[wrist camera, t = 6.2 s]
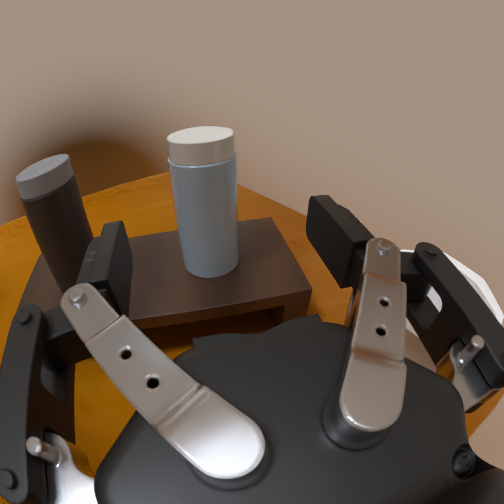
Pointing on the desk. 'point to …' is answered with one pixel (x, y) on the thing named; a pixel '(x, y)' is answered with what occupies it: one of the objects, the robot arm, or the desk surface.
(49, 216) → the dark shaker
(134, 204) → the desk surface
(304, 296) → the desk shelf
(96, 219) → the desk surface
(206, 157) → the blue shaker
